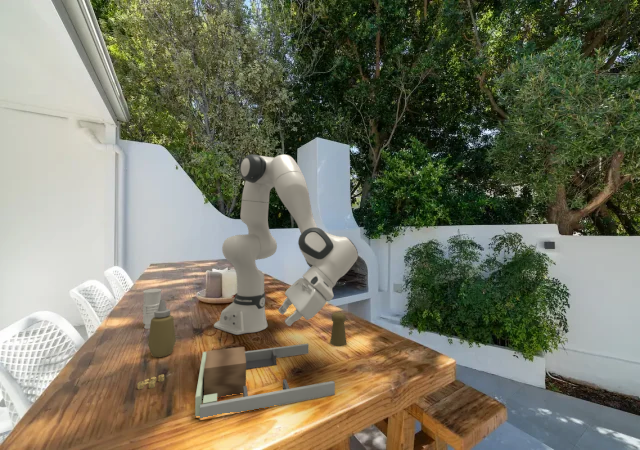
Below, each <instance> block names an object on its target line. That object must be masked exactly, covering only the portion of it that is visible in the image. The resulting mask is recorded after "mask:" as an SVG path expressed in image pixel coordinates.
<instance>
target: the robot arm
mask: <svg viewBox="0 0 640 450" xmlns="http://www.w3.org/2000/svg"><path fill="white" fill-rule="evenodd" d="M240 175H241V177H242V178H243V180H244V181H245V182H244V187H243V189H242V195H241V206H240V207H241V208H240V214H239V215H240V221H241V222H242V223H243V224H245V225H246V227H247V230H248V231H247V232H248V234H236V235H232V236H229V237H227V238H225V240H224V241H223V243H222V248H221V250H222V255H223V256H224V258H225V260H227V261H228V262H229V263H230V264H231V265H232V267H233V268H234V272H235V274H236V291H237V292H236V293H235V294H233V295H231V299H233V301H232V303H230V304H229V305H227V306H226V307H225V308H224V309H223V310H222V311H221V314H220V315H219V320H217V321H216V322H215V323H214V324H213V328H215V329H218V330H220V331H224V332H226V333H230V334H232V335H243V334H250V333H251V334H252V333H257V332H260V331H264V330H265V329H266V328H268V327H269V325H268V322H267V318H266V317H267V316H266V308H265V305H266V292H265V274H264V273H263V271H261V270H259V269H258V267H257V264H256V263H257V262H256V260H264V259H268V258H270V257H272V256H273V255H275V253H276V252H277V248H278V246H277V245H278V243H277V240H276V238H274V236H273V235H272V233H271V231H270V227H269V221H268V219H269V206H270V205H269V204H270V192H271V190H272V189H273V188H274V189H275V191H276V194H277V196H278V197H279V199H280V201H281V202H282V204H283V205H284V206H285V208H286V209H287V210H288V212H289V214H290V215H291V216H292V218H293V219H294V221H295V223H296V225H297V227H298V229H299V231H300V232H299V233H300V235H299V238H298V242H297V244H298V247H299V250H300V252H301V254H302V256H303V257H304V259H305V262H306V264H307V265H308V267H309V268H308V269H307V271H306V272H304V274H303V275H302V277H301V278H299V279H297V280H296V281H295V282H294V283H292V285H291V286H290V287H288V288H287V289H286V291H285V293H284V295H285V297H286V298H285V300H283V302H282V304H281V306H280V307H279V308H278V312H279V314H281V316H282V315H284V314H285V313H286V312H287V311H288V310H287V309H288V308H289V307H290V306H294V308H295V310H294V311H293V313H292V314H291V315H290V316H289V315H288V316H287V317H286V318H285V319H284V323H285V324H286V325H287V326H288V327H291V326H292V325H293V324H294V323H295V322H297V321H299V320H301V318H304V319H305V320H306V321H308V320H312V318H314V317H315V316H316V315H317V314H318V313H319V312H320V311H321V310H322V309H323V308H324V307H325V305H326V303H327V302H331V301H332V300H333V298H334V292H333V288H334V287H335V286H336V284H337V282H338V281H339V280H340V279H341V278H342V277H343V276H345V275H346V274H347V273H348V272H349V270H350V269H351V268H352V267H353V265H354V264H355V263H356V262H357V260H358V257H359V254H358V249H357V247H356V245H355V243H353V241H352V240H351V239H350V238H348V237H347V236H338V235H334V234H331V233H330V232H327V231H325V230H323V229H322V228H319V227H318V225H317V223H316V221H315V218H314V216H313V212H312V205H311V200H310V199H311V198H310V193H309V189H308V184H307V181H306V178H305V176H304V174H303V172H302V170H301V168H300V166H299V165H298V162H296V160H295V159H294V158H293V157H292V156H291V155H289V154H284V153H283V154H278V155H276V156H275V157H273V156H264V155H259V154H247V155H246V156H245V157H244V158H243V159H242V161H241V164H240Z"/></svg>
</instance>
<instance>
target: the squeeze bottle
mask: <svg viewBox="0 0 640 450" xmlns="http://www.w3.org/2000/svg"><path fill="white" fill-rule="evenodd" d="M165 300H166V299H165V298H163V299H162V298H161V300H160V304H159V308H158V310H156V311H155V312H154V318H153V319H152V320H151V324H150V329H149V334H148V342H147V346H148V349H149V351H150V354H151V356H152V357H153V358H163V357H166V356H168V355H170V354H171V353H173V350H174V347H175V344H176V340H177V339H176V331H175V322H174V317H173V315H172V314H171V309H170V308H168V307H167V305H166V301H165Z"/></svg>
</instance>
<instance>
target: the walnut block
mask: <svg viewBox="0 0 640 450" xmlns="http://www.w3.org/2000/svg"><path fill="white" fill-rule="evenodd" d="M206 352H207V356H206V362H205V367H204V392H203V396H204V395H210V394H215V393H217V397H221V396H226V395H232V394H239V395H241V394H240V393H243V386H247V370H246V357H245V352H246V350H245V346H240V347H239V346H237V347H231V348H222V349H221V348H220V349H214V350H211V349H210V350H207V351H206ZM221 398H222V397H221Z"/></svg>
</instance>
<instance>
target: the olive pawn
mask: <svg viewBox="0 0 640 450" xmlns="http://www.w3.org/2000/svg"><path fill="white" fill-rule="evenodd" d="M346 319H347V317H346V314H345V313H344V312H341V311H340V312H339V311H335V312H333V313H332V314H331V321H332V328H331V334H330V344H331V345H332V346H334V347H344V346H345V345H346V346H347V337H346V336H347V335H346V327H345V322H346Z"/></svg>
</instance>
